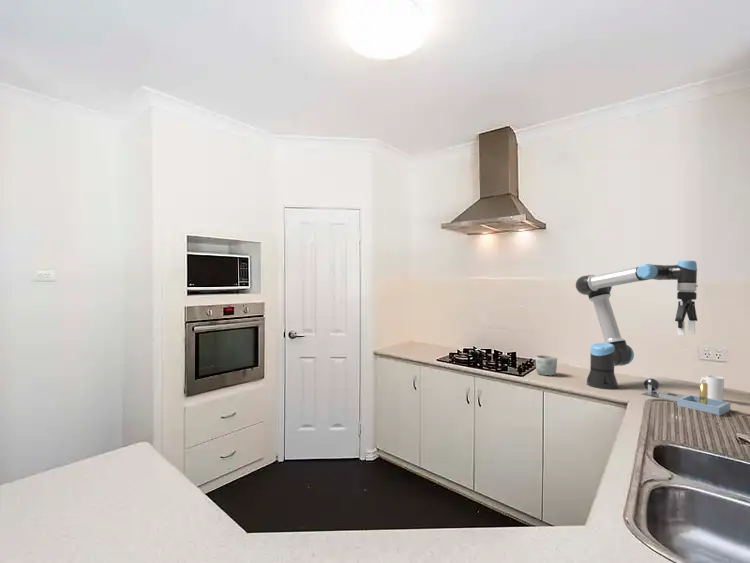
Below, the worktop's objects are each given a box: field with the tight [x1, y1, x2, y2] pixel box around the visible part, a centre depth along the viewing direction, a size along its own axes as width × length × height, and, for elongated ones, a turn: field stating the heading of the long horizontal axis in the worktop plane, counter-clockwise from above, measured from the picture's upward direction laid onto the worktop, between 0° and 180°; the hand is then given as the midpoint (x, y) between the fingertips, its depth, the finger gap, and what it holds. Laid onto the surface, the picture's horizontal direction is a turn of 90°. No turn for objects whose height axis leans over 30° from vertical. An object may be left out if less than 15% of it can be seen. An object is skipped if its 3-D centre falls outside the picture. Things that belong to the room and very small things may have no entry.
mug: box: [699, 374, 725, 401], centre depth 195 cm, size 10×7×12 cm, turn 19°
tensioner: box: [640, 378, 687, 403], centre depth 197 cm, size 17×10×8 cm, turn 34°
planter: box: [535, 355, 558, 377], centre depth 246 cm, size 12×12×11 cm
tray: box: [676, 394, 731, 417], centre depth 180 cm, size 15×15×4 cm
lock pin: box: [699, 382, 708, 405], centre depth 180 cm, size 3×3×11 cm
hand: (686, 334), depth 194 cm, fingers open, 13 cm apart
